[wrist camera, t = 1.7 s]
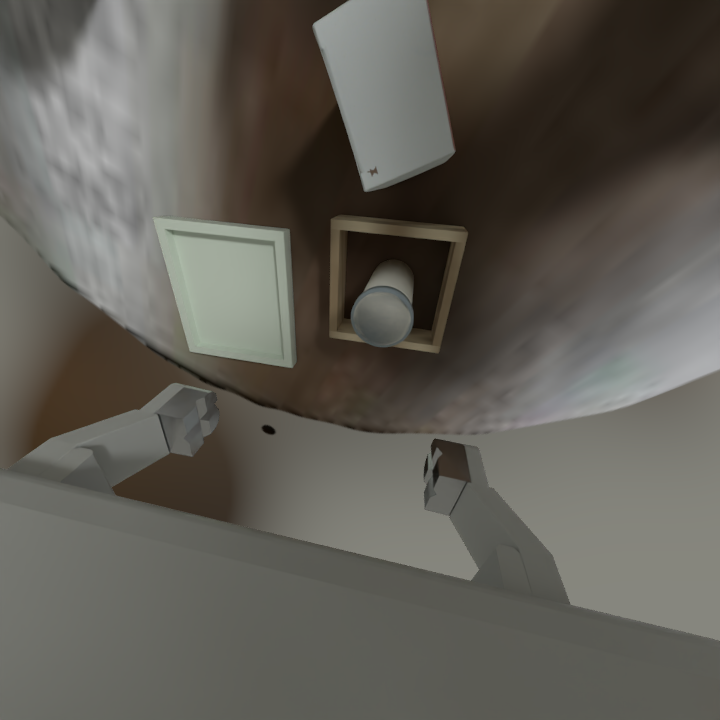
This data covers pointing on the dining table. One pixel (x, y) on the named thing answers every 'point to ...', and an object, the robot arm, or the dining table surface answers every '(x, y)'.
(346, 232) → the open wooden frame
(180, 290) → the tray
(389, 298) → the canister
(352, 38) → the small box
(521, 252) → the dining table surface
